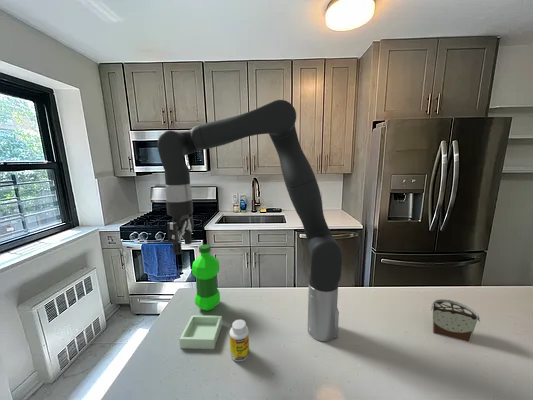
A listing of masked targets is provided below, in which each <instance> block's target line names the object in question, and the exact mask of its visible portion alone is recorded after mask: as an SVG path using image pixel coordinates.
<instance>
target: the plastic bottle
mask: <svg viewBox="0 0 533 400" xmlns="http://www.w3.org/2000/svg"><path fill="white" fill-rule="evenodd" d="M210 252H211V245H210V244H207V243H206V244H201V245H199V246H198V253H200V254H199V256H198V257H197V258H196V259H195V260H194V261H193V262H192V266H191V273H192V276H193V277H195V283H196V284H195V285H196V293H195V297H194V304H195V305H196V306H197V307H198V308H199V309H200V310H203V311H204V312H205V311H207V312H208V311H211V310H213V309H214V308H216V306H217V305H218V304H219V303H220V301H221V292H220V290H219V288H218V279H217V278H218V277H217V276H218V274H219V273H220V261H219V259H218V258H217V257H216V256H214V255H212V254H210Z"/></svg>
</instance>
